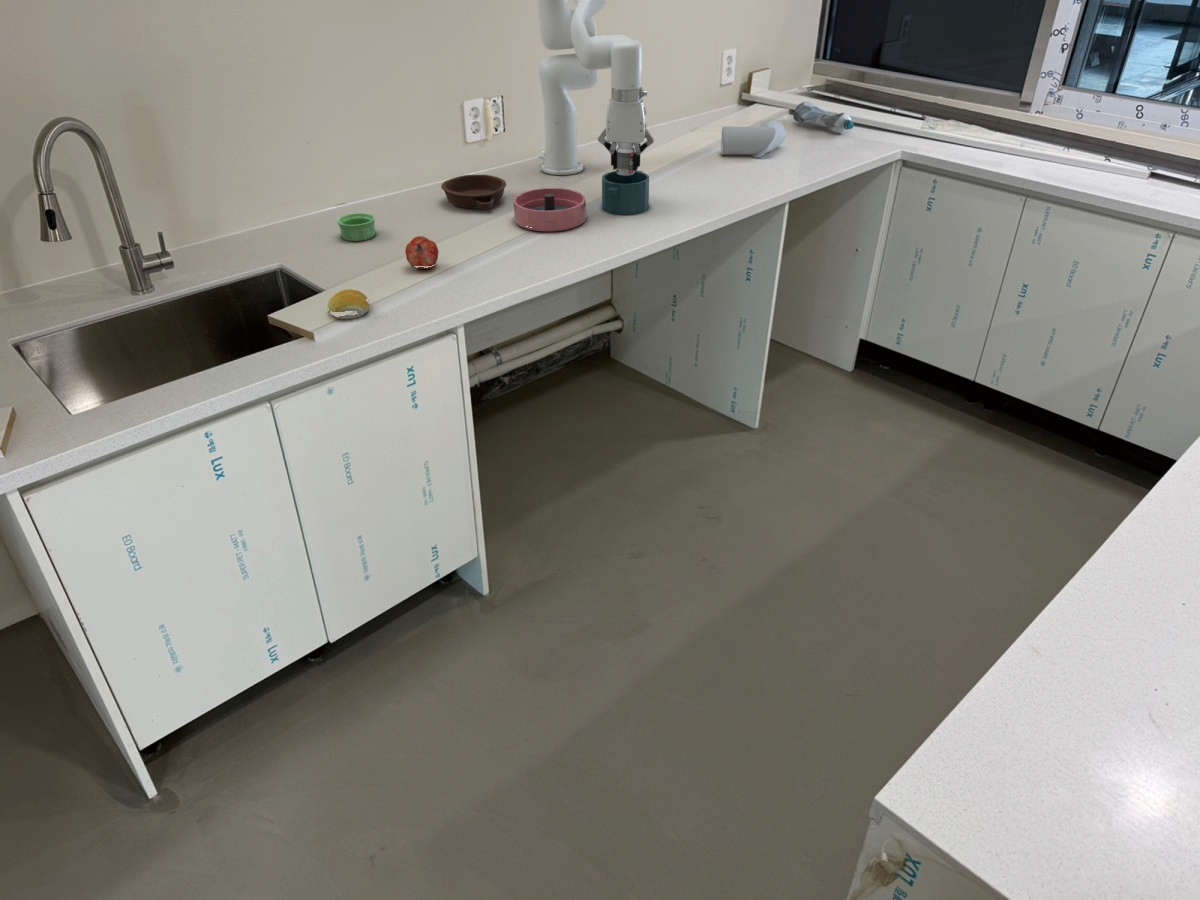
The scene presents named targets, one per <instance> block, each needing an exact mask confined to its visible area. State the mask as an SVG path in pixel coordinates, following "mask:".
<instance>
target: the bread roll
mask: <svg viewBox="0 0 1200 900" xmlns="http://www.w3.org/2000/svg"><path fill="white" fill-rule="evenodd" d="M366 299H368V297H367V295H366V294H365V293H363V292H362V291H360V290H357V289H353V288H352V289H351V288H350V289H343V290H340V291H338V292H337V293H335V294H334V295H333V296H331V297H330V298H329V300H328V303H327V309H328V308H329V310H330V311H332V312H345V311H357V313H358V314H355V315H345V316H339V317H338V318H337V317H336V318H335V319H340V320H349V319H357V318H360V317H363V316H364V315H365V314H366V313H368V312H369V308H370V304H369V301H368V302H367V301H366ZM368 307H369V308H368ZM330 316H332V317H333V315H332V314H330Z"/></svg>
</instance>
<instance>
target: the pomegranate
mask: <svg viewBox="0 0 1200 900" xmlns="http://www.w3.org/2000/svg"><path fill="white" fill-rule="evenodd" d="M404 251H405V255H406V257H405V258H406V261H407V262H408V264H409V265H410V264H411V265H410V266H412V265H413V266H425V267H426V266H432V265H434V264H435V265H436V264H437V261H438V258H439V254H440V251H439V249H438V245H437V243H436V242H434V241H433V240H431V239H429V238H427V237H426V236H424V235H422V236H421V235H418V236H415V237H413V238H412V239H411V240H410V242H409V243H407V244H406V246H405V250H404ZM435 265H434V266H435ZM413 266H412V267H413ZM434 266H432V267H428V268H424V267H418V268H416V267H414V268H415V269H417V270H422V269H423V270H424V269H425V270H429V269H432V268H433V267H434Z"/></svg>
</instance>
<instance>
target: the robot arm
mask: <svg viewBox="0 0 1200 900" xmlns="http://www.w3.org/2000/svg"><path fill="white" fill-rule="evenodd" d="M608 1H609V0H573V2H574V4H575V6H576V7H575V9H574V10H571V9H570V1H569V0H537V10H538V19H539V22H538V23H539V32H540V38H541V43H542V45H543V47H544V48H545V49H547V50H551V51H559V50H571V49H573V50H574V51H575V53H566V54H557V55H551V56H548V57H546V58H544V59H543V60H541V62H540V64H539V66H538V76H539V82H540V87H541V92H542V99H543V100H542V101H543V116H544V117H543V119H544V138H545V139H544V140H545V149H544V150H543V149H542V150H541V151H540V153H538V155H537V157H538V159H541V160H543V163H542V165H541V166H540V168H541V171H542V172H543V173H545V174H549V175H554V176H568V175H575V174H578V173H580V172H582V171H583V170H584V164H583V163H582V162H580V161H579V150H578V149H579V148H578V147H579V146H578V109H577V105H576V103H575V101H574V100H573V98H572V97H571V96H570V94H569V92H573V91H579V90H588V89H592V88H594V87H595V86H596V85H598V83H599V81H600V70H606V69H610V76H611V77H610V90H611V91H610V98H609V99H608V103H607V109H606V118H605V119H606V120H605V128H604V129H603V131H602V132H601V133H600V135H599V136H598V137H597V142H599V143H600V144H601V145H603V146H604V148H605V149H606V150H607V151H608V152H609V154H610V166H612V171H616V169H617V147H618V143H621V142H625V143H633V144H634V145H633V148H634V149H635V154H634V171H638V168H640V166H641V154H642V153H643V152H644V151H645V150H646V149H647V148H648V147H649V146H651V145H652V144H654V142H655V138H654V137H653V136H652V134H651V133H650V131H649V130H648V129H647V110H646V109H647V108H646V103H645V99H642V98H643V97H647V96H648V90H645V89H643V86H642V81H643V80H642V76H643V75H642V74H643V46H642V45H643V44H642V43H641V42H640V41H639V40H636V39H632V38H631V37H629V36H628V35H627V34H622V33H619V34H608V35H607V34H606V35H598V29H597V23H596V20H595V18H594V16H595V15H596V14H598V13H600V12H601V11H602V10H604V8H605V7H606V5H607V4H608ZM645 139H646V141H645ZM641 143H642V144H641Z"/></svg>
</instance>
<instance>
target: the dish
mask: <svg viewBox="0 0 1200 900" xmlns="http://www.w3.org/2000/svg"><path fill="white" fill-rule="evenodd" d="M440 187H441V190H443V191H444V194H445V196H446V198H447V200H448V202H449V203H450V204H451V205H453V206H455V207H459V208H465V209H481V210H489V209H492V207H493V206H494V205H496V204H498V203H500V202H501V200H502V199H503V196H504V192H505V188H506V187H507V181H505V180H504V179H503V178H502V177H499V176H495V175H492V174H491V175H490V174H464V175H459V176H456V177H452V178H450V179H447V180H445V181H444V182H443V183H442V184H441V186H440Z"/></svg>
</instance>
